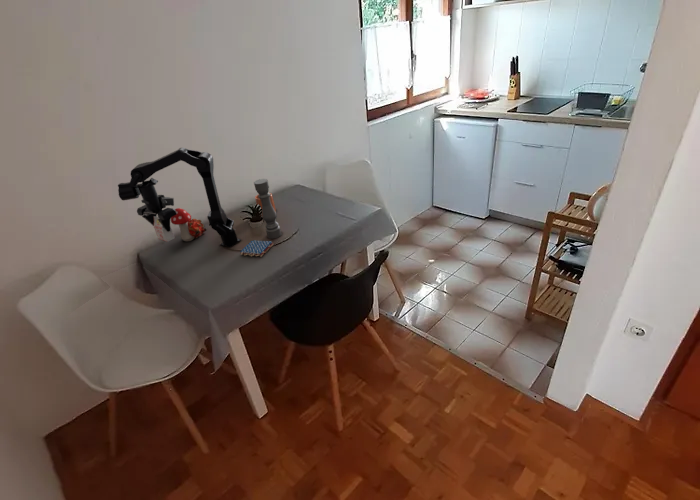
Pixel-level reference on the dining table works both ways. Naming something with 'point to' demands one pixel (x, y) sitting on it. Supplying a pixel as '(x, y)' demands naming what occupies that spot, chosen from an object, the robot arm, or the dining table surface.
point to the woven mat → (256, 248)
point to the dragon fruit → (196, 228)
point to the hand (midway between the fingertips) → (163, 230)
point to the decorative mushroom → (182, 223)
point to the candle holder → (267, 209)
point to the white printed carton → (162, 231)
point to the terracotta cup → (261, 203)
